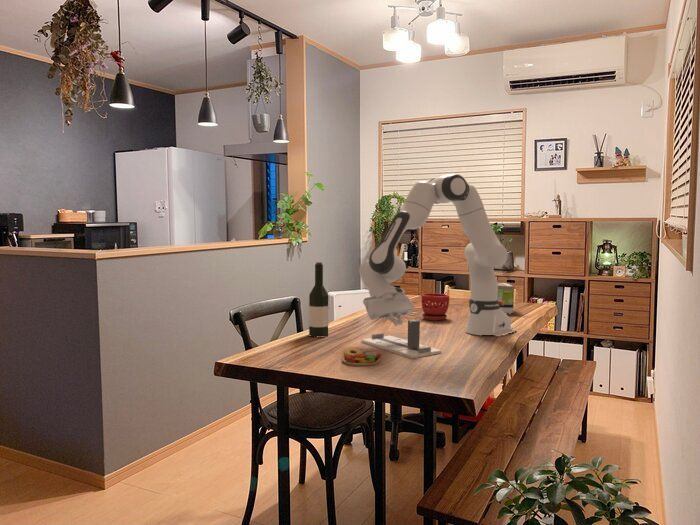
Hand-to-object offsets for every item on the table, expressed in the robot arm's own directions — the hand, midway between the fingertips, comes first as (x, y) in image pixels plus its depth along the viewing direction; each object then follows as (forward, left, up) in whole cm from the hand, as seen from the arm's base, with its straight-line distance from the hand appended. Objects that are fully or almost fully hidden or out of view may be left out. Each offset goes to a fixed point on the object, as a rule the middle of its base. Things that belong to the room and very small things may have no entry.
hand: (399, 324), depth 210 cm
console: (+1, +1, -8) cm, 8 cm away
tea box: (-94, -33, -9) cm, 100 cm away
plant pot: (-51, -36, -9) cm, 63 cm away
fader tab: (+1, +9, -7) cm, 11 cm away
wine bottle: (+16, -33, -9) cm, 37 cm away
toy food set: (+25, +10, -9) cm, 28 cm away
